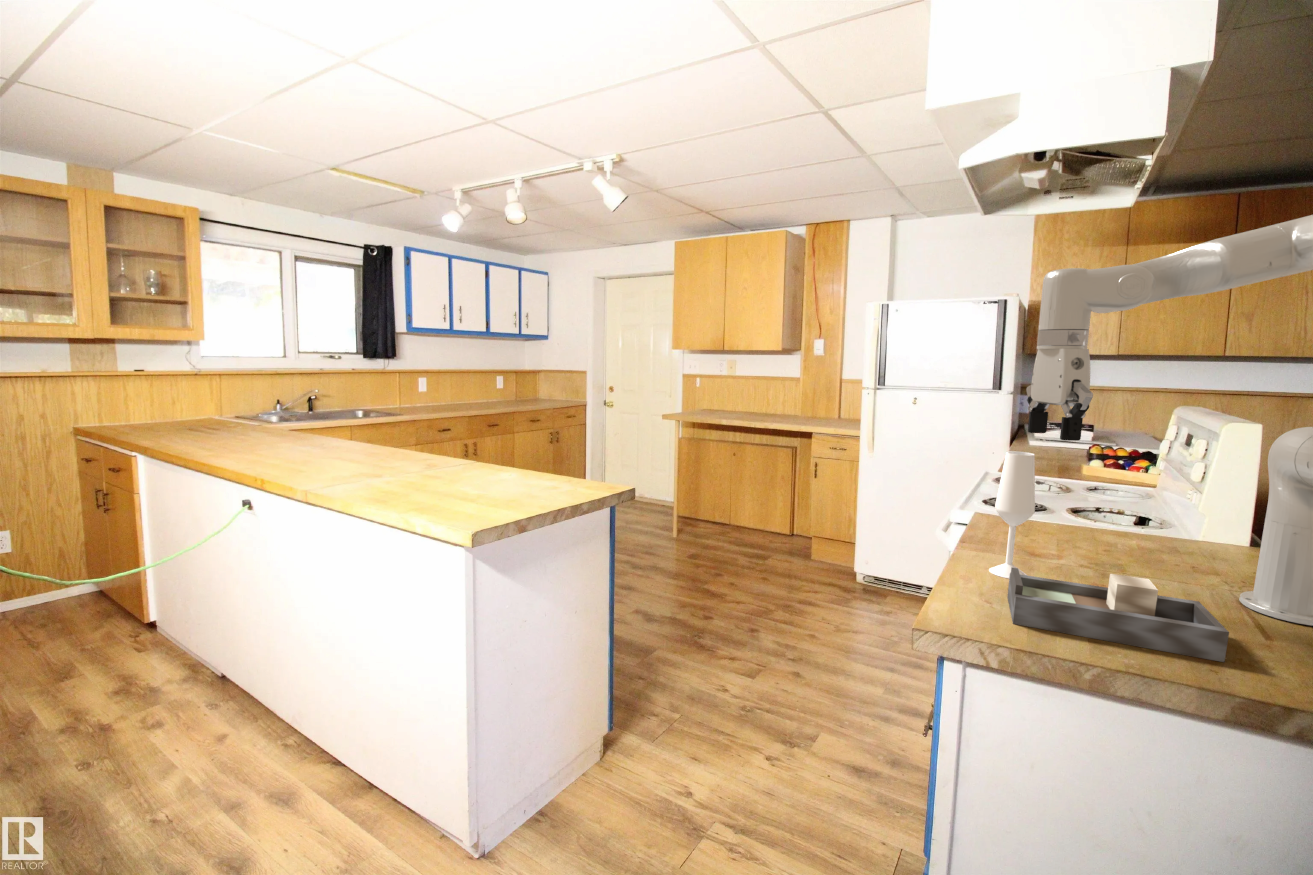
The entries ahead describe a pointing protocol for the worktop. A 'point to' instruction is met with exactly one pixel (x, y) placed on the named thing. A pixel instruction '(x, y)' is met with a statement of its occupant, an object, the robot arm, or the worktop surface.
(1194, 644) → the tray
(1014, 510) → the champagne flute
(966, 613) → the worktop surface
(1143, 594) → the block
